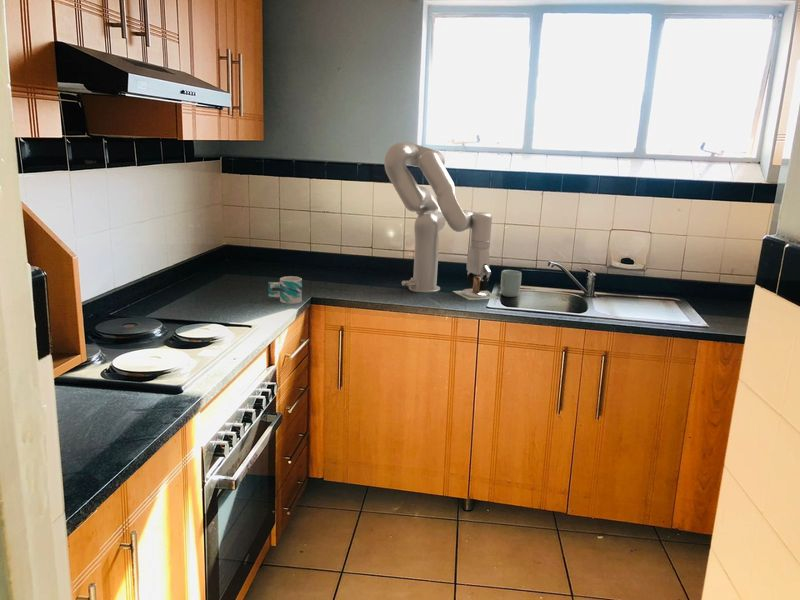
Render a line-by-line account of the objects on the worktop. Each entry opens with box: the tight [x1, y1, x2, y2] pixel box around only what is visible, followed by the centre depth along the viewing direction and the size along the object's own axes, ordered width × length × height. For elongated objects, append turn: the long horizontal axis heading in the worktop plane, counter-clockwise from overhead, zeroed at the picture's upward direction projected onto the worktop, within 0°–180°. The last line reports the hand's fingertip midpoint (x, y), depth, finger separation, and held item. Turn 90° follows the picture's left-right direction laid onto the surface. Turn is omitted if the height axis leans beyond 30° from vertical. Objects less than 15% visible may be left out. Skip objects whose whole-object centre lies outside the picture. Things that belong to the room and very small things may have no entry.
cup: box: [500, 269, 522, 298], centre depth 262 cm, size 8×8×10 cm
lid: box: [461, 275, 491, 298], centre depth 260 cm, size 11×11×7 cm
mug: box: [267, 275, 303, 305], centre depth 240 cm, size 8×12×8 cm
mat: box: [451, 290, 501, 301], centre depth 261 cm, size 14×14×1 cm
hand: (476, 287), depth 260 cm, fingers open, 9 cm apart
